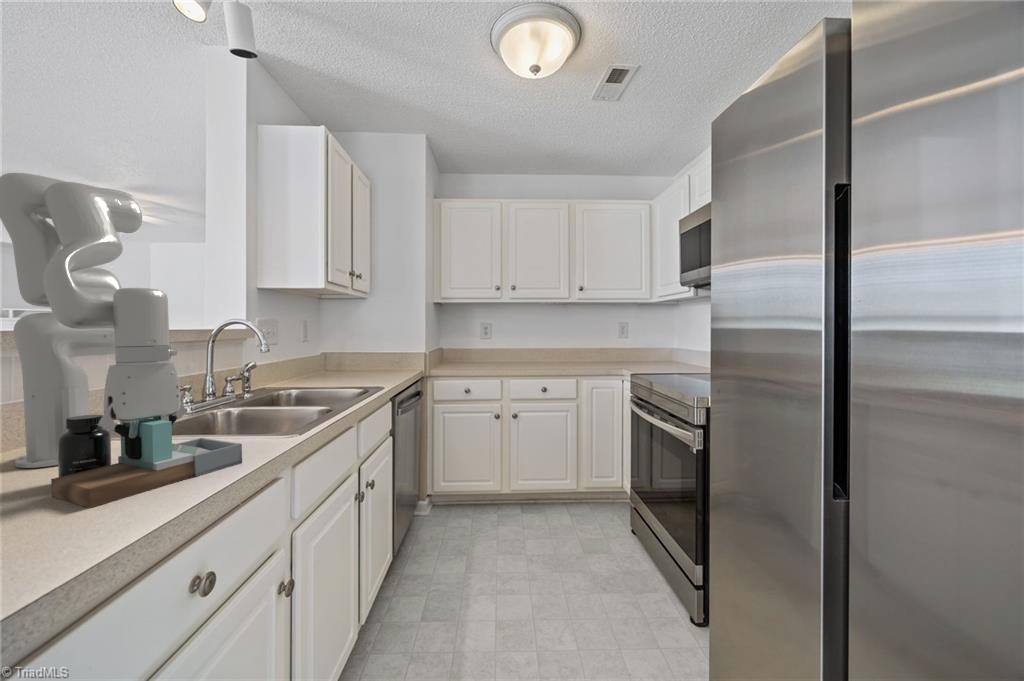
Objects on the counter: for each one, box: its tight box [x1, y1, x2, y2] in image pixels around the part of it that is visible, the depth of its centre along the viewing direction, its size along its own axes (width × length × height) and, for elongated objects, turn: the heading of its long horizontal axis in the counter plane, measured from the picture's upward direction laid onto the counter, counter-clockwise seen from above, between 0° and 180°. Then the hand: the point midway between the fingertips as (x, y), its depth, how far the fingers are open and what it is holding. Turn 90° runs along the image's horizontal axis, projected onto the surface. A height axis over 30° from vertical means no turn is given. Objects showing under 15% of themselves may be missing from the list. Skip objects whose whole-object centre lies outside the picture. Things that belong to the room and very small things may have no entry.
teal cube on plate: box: [117, 418, 194, 471], centre depth 79 cm, size 12×6×8 cm, turn 67°
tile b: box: [179, 445, 210, 455], centre depth 84 cm, size 5×5×2 cm
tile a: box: [172, 443, 182, 452], centre depth 86 cm, size 5×5×2 cm
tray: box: [176, 437, 243, 478], centre depth 86 cm, size 13×9×4 cm
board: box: [50, 461, 195, 509], centre depth 75 cm, size 12×15×3 cm
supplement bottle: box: [57, 414, 112, 477], centre depth 78 cm, size 7×7×12 cm
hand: (146, 454), depth 78 cm, fingers closed on teal cube on plate, 3 cm apart
